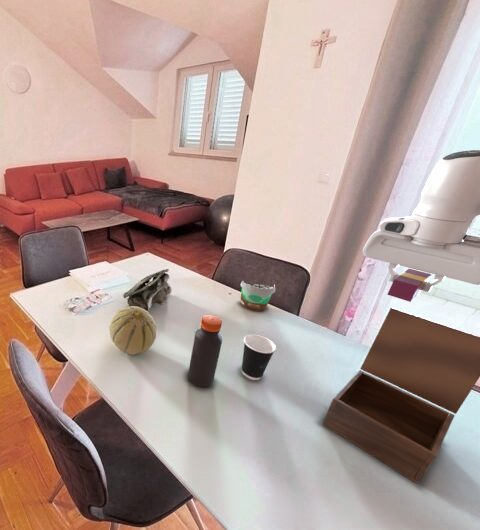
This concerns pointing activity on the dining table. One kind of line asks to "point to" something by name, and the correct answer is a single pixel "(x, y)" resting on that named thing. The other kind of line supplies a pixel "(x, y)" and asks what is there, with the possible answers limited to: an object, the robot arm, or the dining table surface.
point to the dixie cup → (256, 355)
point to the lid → (425, 358)
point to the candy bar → (408, 284)
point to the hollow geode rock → (150, 291)
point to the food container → (255, 296)
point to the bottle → (205, 351)
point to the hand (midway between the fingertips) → (408, 286)
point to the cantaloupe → (133, 330)
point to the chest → (389, 424)
